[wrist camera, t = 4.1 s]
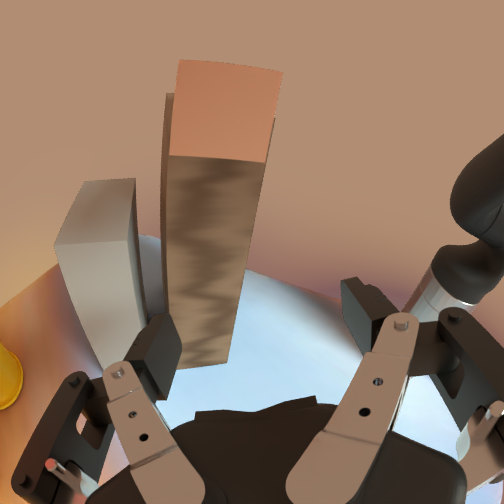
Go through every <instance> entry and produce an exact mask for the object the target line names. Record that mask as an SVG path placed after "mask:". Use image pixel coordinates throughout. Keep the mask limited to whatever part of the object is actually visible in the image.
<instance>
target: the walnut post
mask: <svg viewBox="0 0 504 504" xmlns="http://www.w3.org/2000/svg"><path fill="white" fill-rule="evenodd" d="M174 94H175V93H166V102H165V113H164V124H163V139H162V158H161V188H160V192H161V193H160V230H161V261H162V279H163V291H164V300H165V308H166V313H169V314H170V315H171V317H172V319H173V322H174V324H175V327H176V329H177V332H178V334H179V337H180V339H181V342H182V353H181V356H180V359H179V362H178V365H177V369H176V370H178V369H187V368H195V367H203V366H210V365H217V364H224V363H227V360H228V355H229V350H230V345H231V340H232V334H233V329H234V324H235V319H236V314H237V309H238V304H239V298H240V293H241V288H242V283H243V278H244V273H245V268H246V263H247V257H248V252H249V247H250V242H251V237H252V232H253V227H254V222H255V217H256V212H257V206H258V202H259V197H260V192H261V187H262V182H263V177H264V172H265V167H266V162H267V157H268V151H269V147H270V142H271V137H272V131H273V127H274V122H275V118H274V120H273V125H272V130H271V135H270V140H269V145H268V150H267V155H266V160H265V163H262V162H253V161H243V160H233V159H222V158H209V157H194V156H174V155H169V150H170V135H171V123H172V113H173V103H174Z"/></svg>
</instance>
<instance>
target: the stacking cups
mask: <svg viewBox="0 0 504 504" xmlns="http://www.w3.org/2000/svg"><path fill="white" fill-rule="evenodd" d="M22 384H23V369H22V366H21V363H20V361H19V360H18V358H17V357H16V356H15V355H14V354H13V353H12V352H10V351H8V350H6V349H5V347H4V346H3V344H2V343H1V342H0V410H2V409H5V408H7V407H9V406H10V405H11V404H13V403H14V401H15V400H16V399H17V397H18V396H19V394H20V391H21V388H22Z"/></svg>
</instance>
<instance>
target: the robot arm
mask: <svg viewBox="0 0 504 504" xmlns="http://www.w3.org/2000/svg"><path fill="white" fill-rule="evenodd" d="M450 209H451V213H452V216H453V218H454V220H455V221H456V223H457V224H458V225H459V226H460V227H461V228H462V229H464V230H465V231H467V232H468V233H470V234H471V235H473V236H475V237H477V238H478V239H479V240H478V241H477V242H475V243H472V244H469V245H446V246H443V247H441V248H440V249H439V250H438V252H437V253H436V255H435V257H434V259H433V260H432V263H431V264H430V266H429V268H428V270H427V271H426V273H425V274H424V276H423V278H422V279H421V281H420V283H419V284H418V286H417V288H416V289H415V291H414V292H413V294H412V295H411V297H410V298H409V300H408V301H407V303H406V304H405V306H404V307H403V309H402V310H401V312H399V311H398V310H397V308H396V307H395V306H394V305H393V304H392V303H391V302H390V301H389V300H388V299H387V297H386V296H385V295H383V293H382V292H381V291H380V290H379V289H378V288H377V287H375V286H372V285H370V284H369V285H364V284H363V283H362V282H361V281H360V280H359V278H358V277H353V278H349V279H344V280H341V298H342V312H343V317H344V320H345V323H346V325H347V326H348V328H349V330H350V332H351V334H352V336H353V337H354V339H355V341H356V343H357V345H358V347H359V349H360V351H361V352H362V354H363V356H364V357H363V359H362V361H361V363H360V365H359V367H358V369H357V371H356V373H355V375H354V377H353V379H352V381H351V383H350V385H349V387H348V389H347V391H346V393H345V394H344V396H343V398H342V400H341V402H340V403H339V405H334V404H324V403H317V400H316V396H315V395H314V396H310V397H305V398H300V399H295V400H290V401H285V402H282V403H279V404H277V405H274V406H271V407H268V408H265V409H263V410H260V411H256V412H243V411H232V410H212V411H196V413H195V418H194V420H192V421H189V422H186V423H184V424H181V425H179V426H177V427H176V428H174V429H172V430H171V428H170V427H169V425H168V424H167V422H166V421H165V419H164V417H163V416H162V414H161V413H160V411H159V410H158V408H157V406H156V405H155V403H156V400H167V398H168V394H169V391H170V388H171V385H172V381H173V378H174V375H175V372H176V369H177V365H178V362H179V359H180V356H181V353H182V342H181V339H180V337H179V334H178V332H177V329H176V327H175V324H174V322H173V319H172V317H171V315H170V314H169V313H165V314H158V315H153V317H152V318H151V320H150V322H149V324H148V325H147V326H145V327H144V328H143V329H142V330H141V331H140V332H139V333H138V335H137V336H136V338H135V340H134V341H133V343H132V346H131V347H130V348H129V350H128V352H127V354H126V355H125V357H124V359H123V361H118V362H115V363H113V364H111V365H110V366H108V367H107V368H106V369H105V370H104V372H103V375H102V377H100V378H96V379H92V380H90V379H89V377H88V376H87V374H86V373H85V372H82V371H78V372H74V373H72V374H70V375H69V376H68V377H66V378H65V380H64V381H63V383H62V384H61V386H60V387H59V389H58V391H57V392H56V394H55V396H54V397H53V399H52V401H51V402H50V404H49V406H48V407H47V409H46V411H45V413H44V414H43V416H42V418H41V420H40V422H39V423H38V425H37V427H36V429H35V431H34V433H33V434H32V436H31V438H30V440H29V442H28V444H27V446H26V448H25V450H24V452H23V454H22V456H21V458H20V460H19V462H18V465H17V467H16V469H15V471H14V473H13V476H12V479H11V485H12V488H13V490H14V492H15V493H16V494H17V495H19V496H20V497H21V498H23V499H24V500H26V501H27V502H28V503H30V504H465V500H466V496H468V495H470V494H471V493H473V492H475V491H476V490H478V489H480V488H481V487H483V486H484V485H486V484H487V483H490V484H494V483H498V482H500V481H502V480H503V479H504V348H503V347H502V346H501V345H500V344H499V343H498V342H497V341H496V340H495V339H494V338H493V337H492V336H491V334H490V333H489V332H488V331H486V329H485V328H484V327H482V325H481V324H480V323H479V322H477V320H476V319H475V318H474V317H473V316H472V315H471V312H472V311H473V310H474V309H475V307H476V306H477V304H478V303H479V302H480V300H481V299H482V298H483V297H484V295H485V294H487V293H488V292H490V291H491V290H493V289H494V288H495V286H496V285H497V284H498V283H499V281H500V280H501V278H502V277H503V276H504V134H503V135H502V136H500V137H499V138H498V139H497V140H495V141H494V142H493V143H492V144H490V145H489V146H488V147H487V148H485V149H484V150H483V151H481V152H480V153H479V154H478V155H476V156H475V157H474V158H473V159H472V160H471V161H470V162H469V163H468V164H467V165H466V166H465V168H464V169H463V170H462V172H461V173H460V175H459V176H458V178H457V180H456V182H455V184H454V186H453V189H452V193H451V198H450ZM423 375H429V376H430V378H431V379H432V381H433V383H434V385H435V386H436V388H437V390H438V391H439V393H440V395H441V397H442V398H443V400H444V402H445V404H446V406H447V407H448V409H449V411H450V413H451V415H452V417H453V418H454V420H455V422H456V424H457V426H458V428H459V430H460V432H461V434H460V435H459V437H458V439H457V442H456V450H457V454H458V460H457V461H456V460H455V459H454V458H452V457H451V456H449V455H447V454H445V453H442V452H440V451H437V450H435V449H432V448H430V447H427V446H425V445H423V444H420V443H418V442H416V441H414V440H411V439H409V438H407V437H405V436H403V435H400V434H398V433H396V432H394V431H393V430H394V427H395V424H396V421H397V418H398V415H399V412H400V409H401V406H402V403H403V399H404V396H405V393H406V390H407V386H408V383H409V379H411V378H412V377H414V376H423ZM80 413H82V414H83V415H84V417H85V418H86V419H87V421H86V423H85V426H84V428H83V430H82V433H81V435H80V434H79V433H78V431H77V428H76V422H77V420H78V417H79V415H80ZM115 430H116V432H117V435H118V437H119V440H120V442H121V445H122V447H123V449H124V452H125V454H126V456H127V459H128V461H129V463H130V464H129V465H128V466H127V467H126V468H124V469H123V470H122V471H120V472H119V473H118V474H116V475H115V476H114V477H112V478H111V479H110V480H108V481H107V482H106V483H104V484H103V485H102V486H100V487H99V486H98V482H99V478H100V475H101V471H102V468H103V465H104V461H105V458H106V455H107V452H108V449H109V446H110V443H111V440H112V437H113V434H114V431H115Z"/></svg>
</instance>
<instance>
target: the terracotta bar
mask: <svg viewBox="0 0 504 504" xmlns="http://www.w3.org/2000/svg"><path fill="white" fill-rule="evenodd" d="M282 75H283V72H280V71H275V70H270V69H264V68H258V67H252V66H246V65H238V64H230V63H221V62H210V61H196V60H179V64H178V71H177V78H176V86H175V94H174V103H173V113H172V123H171V135H170V150H169V155H174V156H194V157H209V158H222V159H233V160H243V161H253V162H262V163H265V160H266V155H267V150H268V145H269V140H270V135H271V130H272V125H273V120H274V115H275V110H276V105H277V100H278V95H279V90H280V85H281V80H282Z"/></svg>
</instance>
